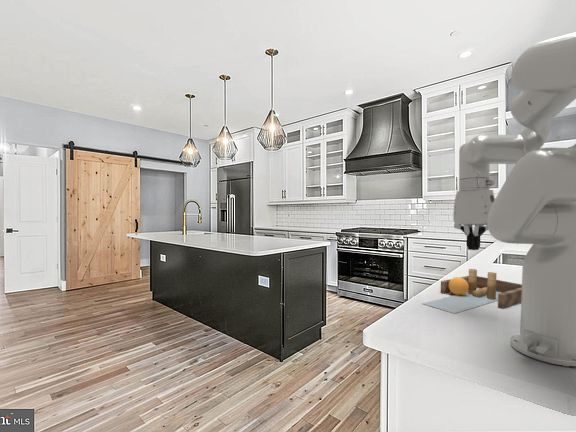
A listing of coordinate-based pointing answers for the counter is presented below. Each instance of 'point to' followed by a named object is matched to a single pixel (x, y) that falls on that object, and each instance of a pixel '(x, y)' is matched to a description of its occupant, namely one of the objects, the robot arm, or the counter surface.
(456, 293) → the ball
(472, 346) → the counter surface
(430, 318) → the counter surface
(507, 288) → the fence
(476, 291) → the pin front
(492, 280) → the pin right
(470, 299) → the lane
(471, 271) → the pin left
